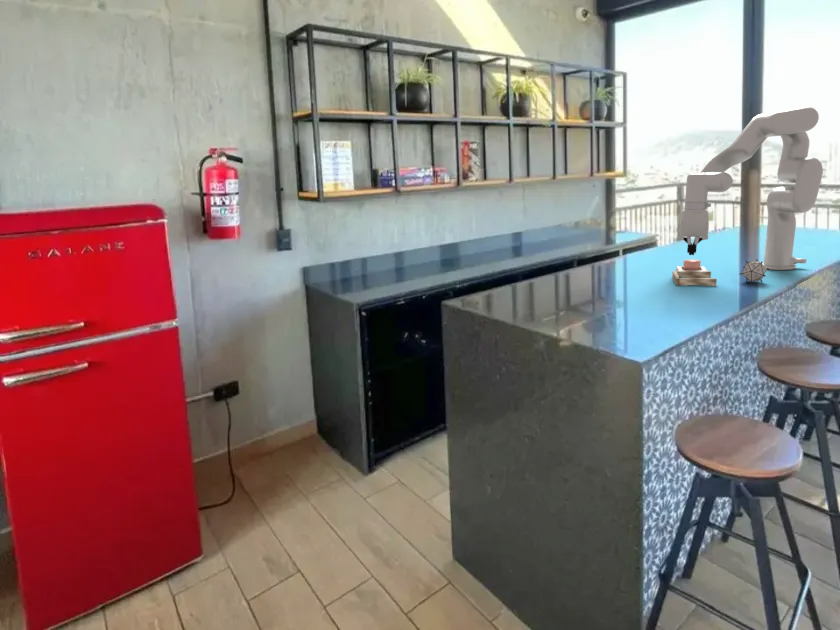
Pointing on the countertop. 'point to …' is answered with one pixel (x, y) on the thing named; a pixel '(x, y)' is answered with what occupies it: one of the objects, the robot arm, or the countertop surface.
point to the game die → (754, 271)
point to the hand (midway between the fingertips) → (691, 254)
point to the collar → (680, 268)
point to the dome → (691, 264)
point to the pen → (694, 278)
